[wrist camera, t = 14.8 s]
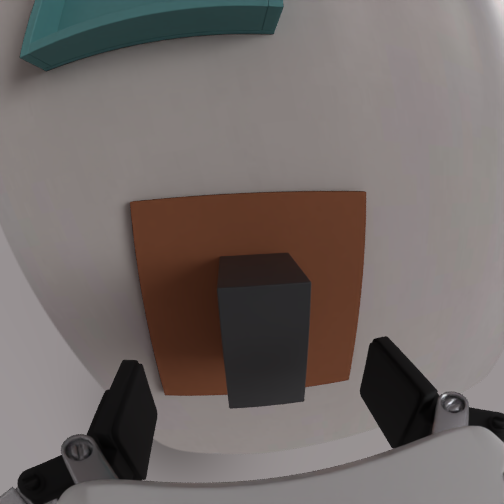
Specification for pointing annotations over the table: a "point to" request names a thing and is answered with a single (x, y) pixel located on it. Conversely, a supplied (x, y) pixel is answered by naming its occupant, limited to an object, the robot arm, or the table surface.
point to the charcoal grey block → (264, 328)
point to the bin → (134, 24)
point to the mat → (246, 243)
